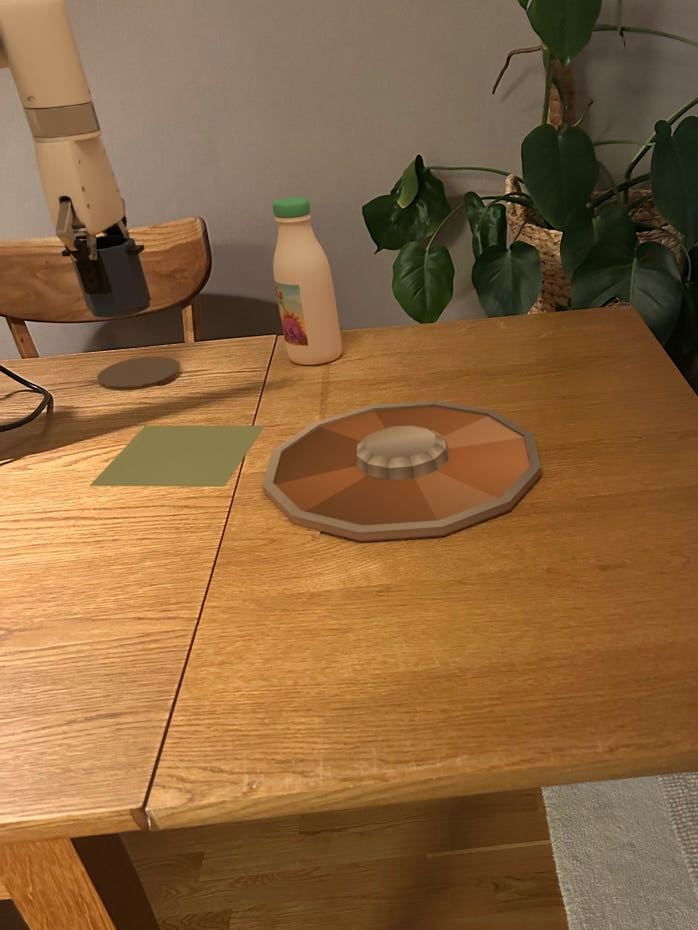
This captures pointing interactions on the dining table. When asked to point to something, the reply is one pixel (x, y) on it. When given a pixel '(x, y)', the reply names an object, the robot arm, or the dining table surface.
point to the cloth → (180, 456)
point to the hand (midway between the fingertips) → (112, 282)
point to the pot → (118, 278)
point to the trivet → (139, 373)
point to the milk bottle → (304, 287)
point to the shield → (402, 471)
